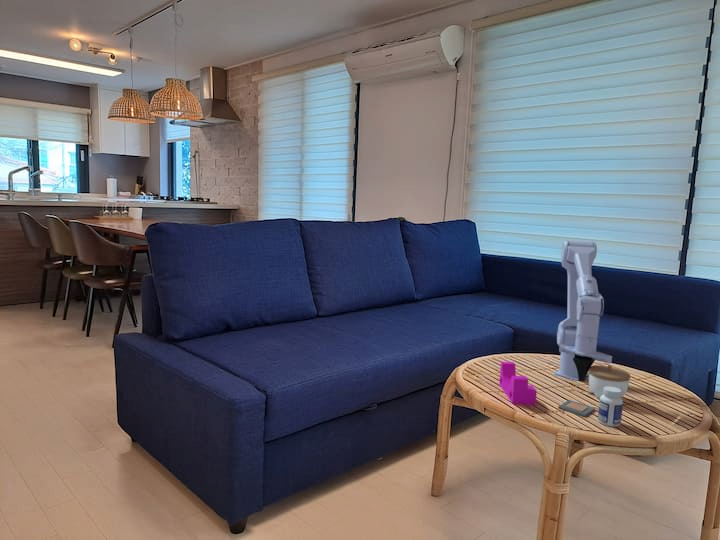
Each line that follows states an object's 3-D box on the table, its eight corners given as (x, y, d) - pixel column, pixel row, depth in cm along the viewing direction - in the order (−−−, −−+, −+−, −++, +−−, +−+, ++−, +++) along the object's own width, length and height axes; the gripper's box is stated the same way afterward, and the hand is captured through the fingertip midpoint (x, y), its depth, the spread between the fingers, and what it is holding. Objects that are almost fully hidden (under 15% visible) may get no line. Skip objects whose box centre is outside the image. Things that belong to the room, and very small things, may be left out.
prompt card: (568, 402, 141) (569, 399, 141) (594, 410, 137) (594, 407, 136) (558, 408, 136) (558, 405, 136) (584, 417, 132) (584, 414, 131)
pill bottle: (618, 420, 130) (622, 387, 129) (622, 428, 126) (626, 394, 124) (596, 416, 132) (600, 384, 131) (598, 424, 127) (602, 390, 126)
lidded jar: (577, 392, 149) (581, 361, 148) (605, 388, 153) (609, 358, 152) (607, 406, 139) (611, 373, 138) (636, 402, 143) (640, 370, 142)
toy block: (535, 406, 138) (537, 380, 137) (512, 405, 138) (514, 378, 137) (520, 386, 152) (522, 362, 151) (499, 385, 153) (501, 361, 152)
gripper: (556, 333, 151) (552, 376, 153) (607, 344, 141) (602, 390, 143) (566, 329, 156) (562, 372, 158) (616, 339, 146) (611, 385, 148)
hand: (581, 380), depth 151 cm, fingers closed
